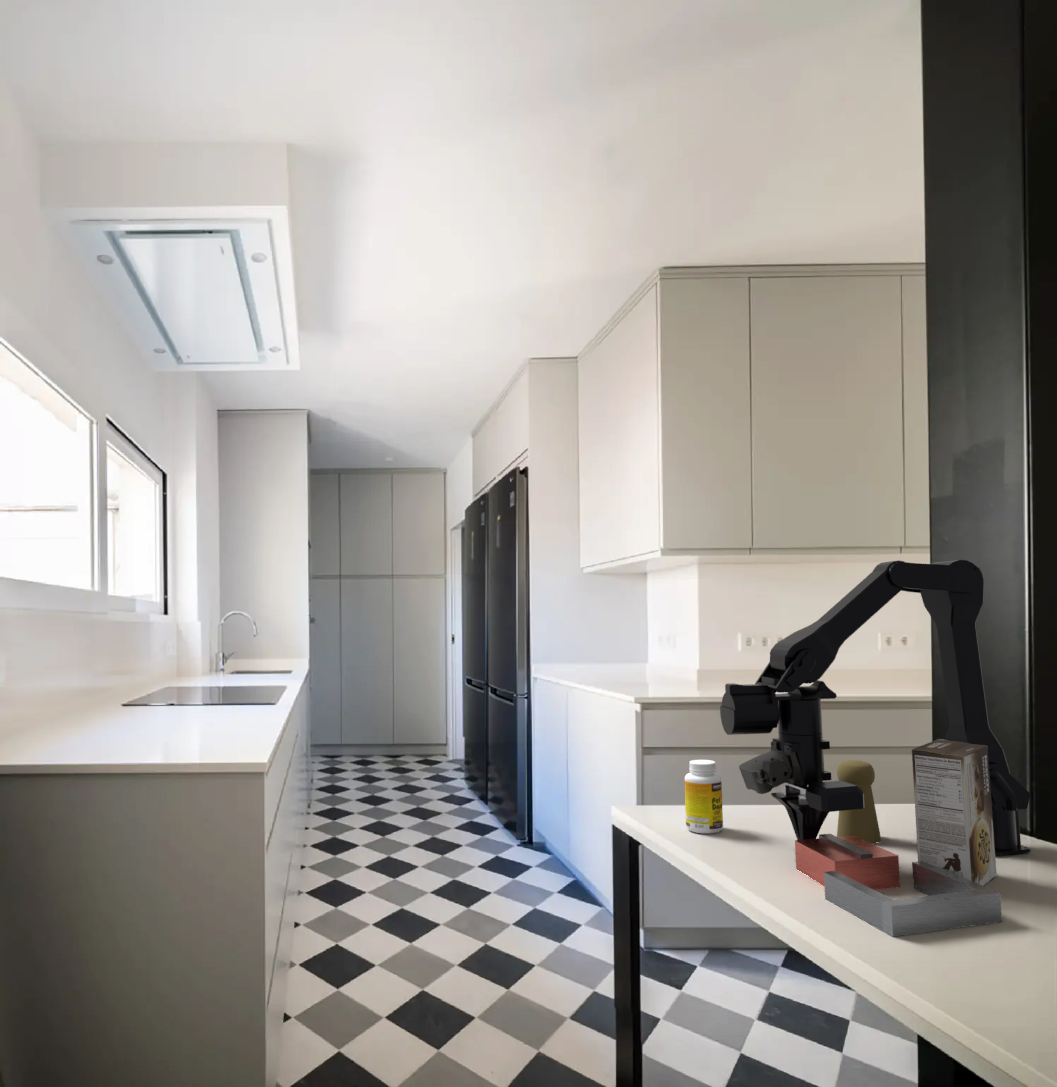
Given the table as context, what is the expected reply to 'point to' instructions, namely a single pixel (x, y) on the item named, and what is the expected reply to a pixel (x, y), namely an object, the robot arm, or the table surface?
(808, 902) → the table surface
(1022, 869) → the table surface
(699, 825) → the supplement bottle
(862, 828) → the olive tapered upright piece
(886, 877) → the block
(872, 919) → the tray
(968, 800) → the coffee box
